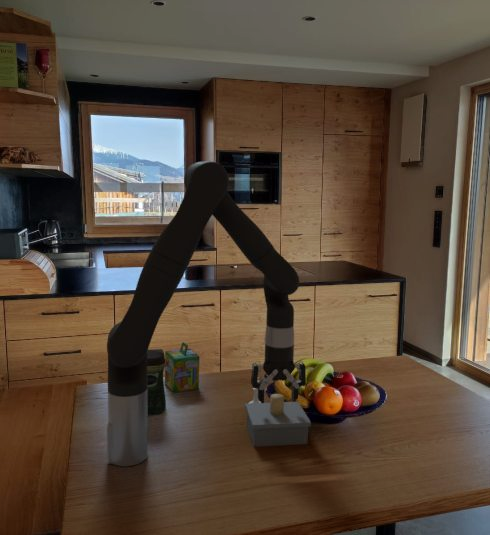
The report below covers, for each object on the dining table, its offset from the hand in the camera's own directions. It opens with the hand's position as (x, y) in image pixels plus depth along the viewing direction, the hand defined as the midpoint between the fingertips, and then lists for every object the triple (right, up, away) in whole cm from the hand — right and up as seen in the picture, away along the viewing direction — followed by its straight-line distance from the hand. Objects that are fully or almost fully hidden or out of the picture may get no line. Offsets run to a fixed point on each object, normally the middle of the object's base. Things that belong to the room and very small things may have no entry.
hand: (277, 401), depth 131 cm
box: (0, -10, +1) cm, 10 cm away
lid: (0, -4, +1) cm, 4 cm away
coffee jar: (-37, -7, +16) cm, 41 cm away
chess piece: (-5, -7, +21) cm, 23 cm away
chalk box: (-30, -5, +35) cm, 46 cm away
